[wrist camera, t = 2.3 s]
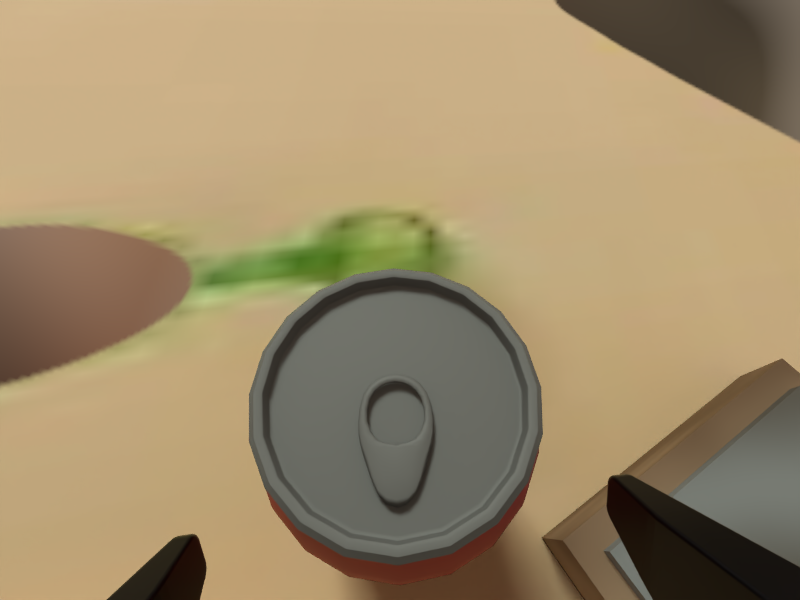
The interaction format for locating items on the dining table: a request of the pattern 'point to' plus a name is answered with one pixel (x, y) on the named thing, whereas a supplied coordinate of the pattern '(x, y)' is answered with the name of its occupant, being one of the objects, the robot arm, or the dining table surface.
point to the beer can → (396, 425)
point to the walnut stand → (704, 482)
